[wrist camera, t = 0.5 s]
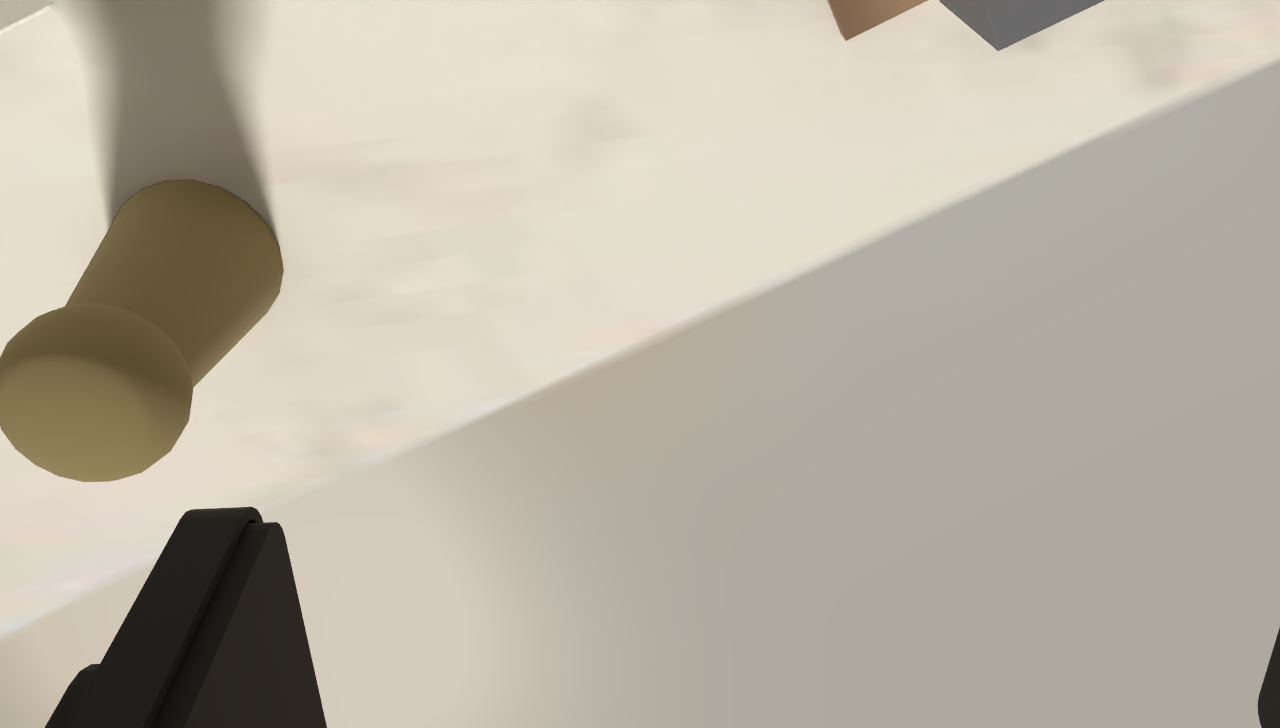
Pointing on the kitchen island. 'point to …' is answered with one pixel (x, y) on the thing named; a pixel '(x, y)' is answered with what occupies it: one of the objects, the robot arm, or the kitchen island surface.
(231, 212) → the cork
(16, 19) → the gable box
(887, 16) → the wooden rail stand
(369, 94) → the kitchen island surface
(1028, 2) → the notched grey block
